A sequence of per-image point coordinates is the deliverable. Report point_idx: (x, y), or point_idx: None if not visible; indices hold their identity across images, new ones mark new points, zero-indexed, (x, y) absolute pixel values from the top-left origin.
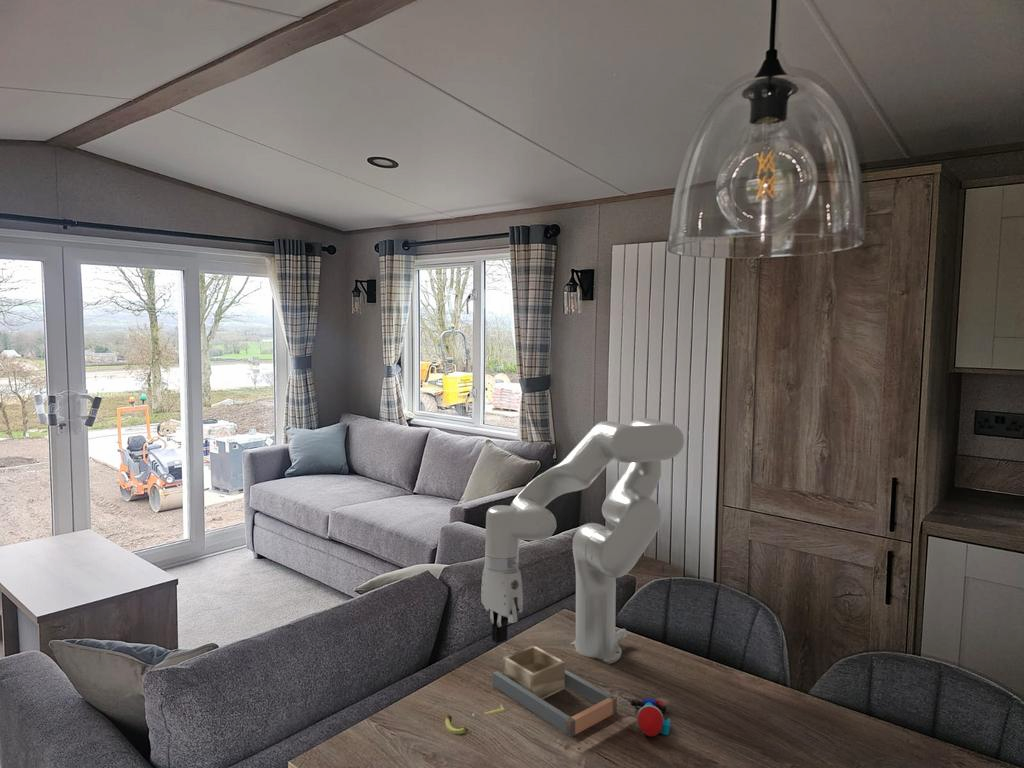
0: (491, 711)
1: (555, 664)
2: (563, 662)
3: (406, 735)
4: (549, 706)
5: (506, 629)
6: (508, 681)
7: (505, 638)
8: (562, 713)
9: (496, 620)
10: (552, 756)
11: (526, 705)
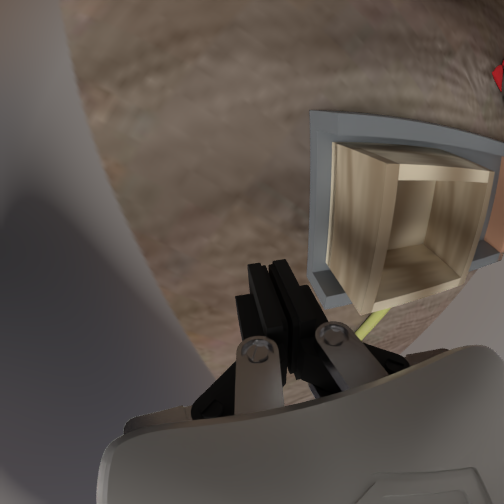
0: (377, 322)
1: (485, 203)
2: (493, 176)
3: (305, 400)
4: (475, 265)
5: (322, 312)
6: None
7: (304, 285)
8: (491, 257)
9: (282, 386)
10: (469, 276)
11: None
